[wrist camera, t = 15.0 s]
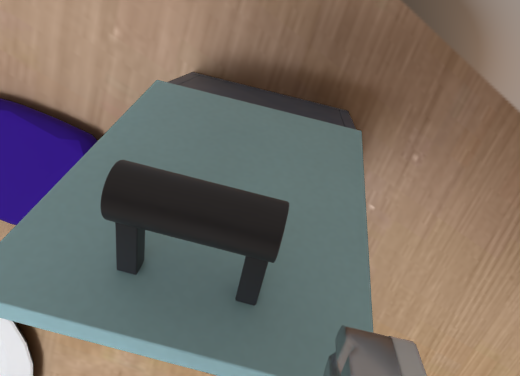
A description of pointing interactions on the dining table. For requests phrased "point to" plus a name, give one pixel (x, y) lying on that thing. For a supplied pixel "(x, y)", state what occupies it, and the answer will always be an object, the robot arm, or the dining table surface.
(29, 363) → the plate
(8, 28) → the dining table surface
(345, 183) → the lid
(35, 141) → the spray bottle
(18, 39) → the dining table surface
